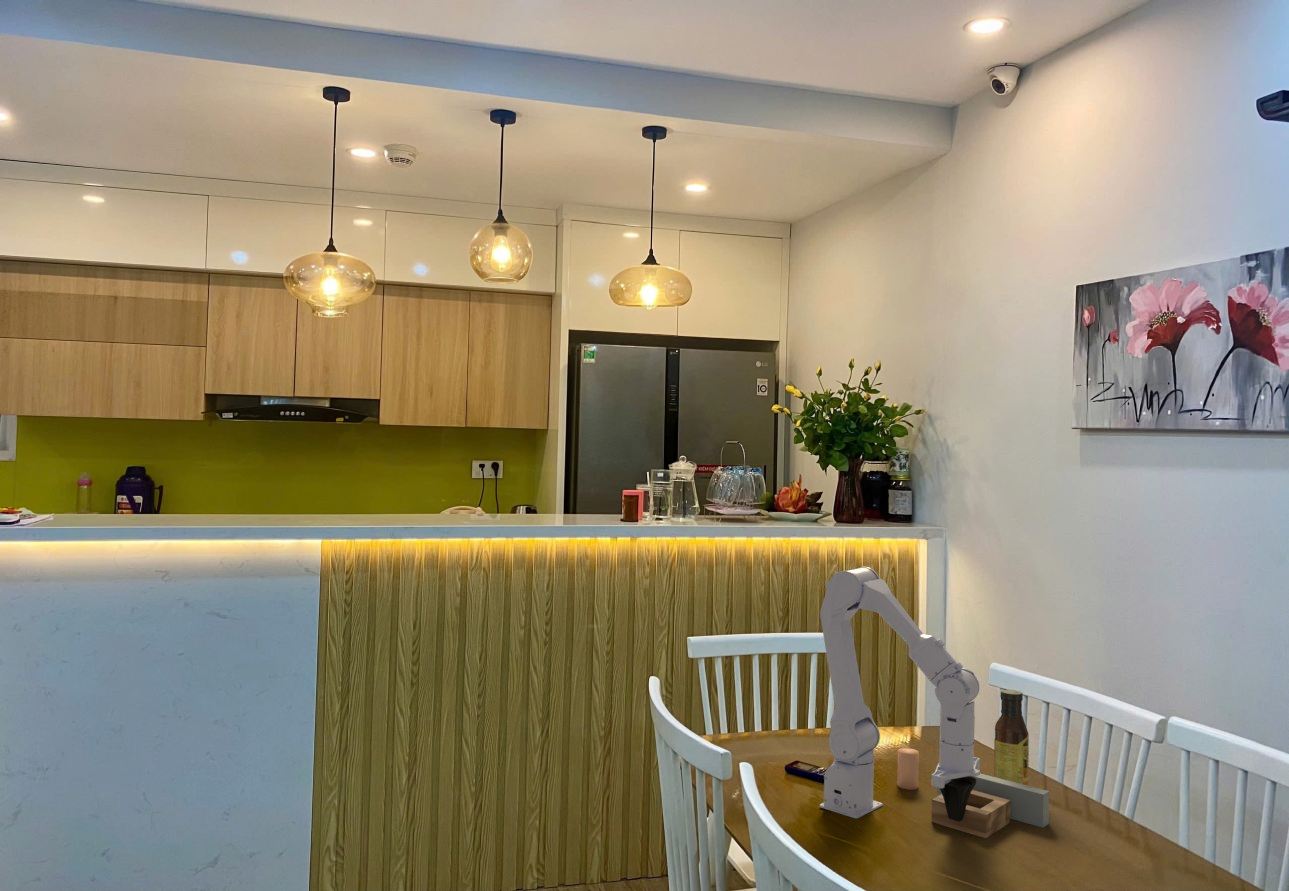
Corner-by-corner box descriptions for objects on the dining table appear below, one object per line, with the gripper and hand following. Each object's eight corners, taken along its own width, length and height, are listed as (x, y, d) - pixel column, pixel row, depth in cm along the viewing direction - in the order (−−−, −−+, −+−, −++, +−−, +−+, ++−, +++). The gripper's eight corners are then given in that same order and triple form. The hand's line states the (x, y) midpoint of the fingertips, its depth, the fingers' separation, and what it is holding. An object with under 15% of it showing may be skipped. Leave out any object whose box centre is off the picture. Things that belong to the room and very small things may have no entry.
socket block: (985, 838, 162) (986, 814, 162) (931, 821, 169) (931, 799, 169) (1010, 822, 169) (1010, 800, 169) (956, 807, 176) (957, 785, 176)
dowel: (912, 791, 184) (912, 755, 185) (893, 786, 187) (894, 751, 187) (921, 786, 187) (922, 751, 187) (903, 781, 190) (904, 746, 190)
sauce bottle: (1031, 801, 180) (1032, 697, 180) (996, 798, 182) (998, 695, 182) (1024, 789, 187) (1026, 689, 187) (991, 787, 188) (992, 686, 188)
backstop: (1042, 828, 167) (1043, 794, 168) (936, 798, 181) (937, 766, 181) (1048, 824, 169) (1048, 790, 169) (943, 794, 183) (943, 763, 183)
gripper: (959, 755, 157) (958, 837, 157) (996, 737, 167) (995, 814, 167) (920, 745, 162) (919, 825, 162) (959, 728, 172) (957, 803, 172)
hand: (955, 819), depth 165 cm, fingers closed
